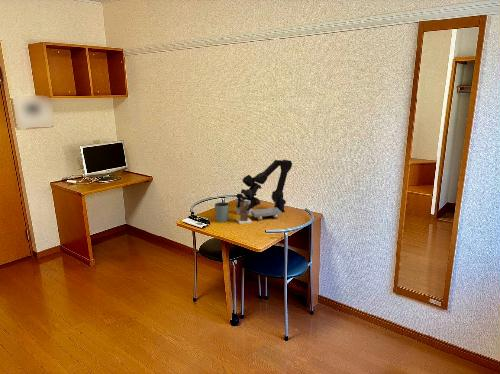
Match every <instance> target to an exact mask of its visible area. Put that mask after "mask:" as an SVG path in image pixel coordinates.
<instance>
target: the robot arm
mask: <svg viewBox="0 0 500 374" xmlns="http://www.w3.org/2000/svg"><path fill="white" fill-rule="evenodd" d="M292 166H293V163H292V160H289V159H285V158H284V159H282V160H280V159H275V160H274V161H273V162H272V163H271V164H270V165H269V166H267V168H266V169H264V170H263V171H262V172H259V173H257V175H255V176H253V177H252V176H251V175H250V174H248V175H246V176H244V177H243V178H242V183H243V184H244V185H245V186H246V187H249V188H247V189H243V188H241V191H240V192H239V193H236V195H235V197H236V198H237V199H238V206H237V208H239V207H240V202H242V201H244V200H249V201H250V205H249V207H248V209H247V211H249V210H250V209H252V210H253V208H254V207H256V206H259V205H260V204H261V200H260V199H259V198H258V197H256V196H257V192H258V190H261V189H262V186H261V185H264V184H265V183H266V181H267V180H268V177H269V176H271V174H273V173H274V172H275V170H277V169H278V168H279V167H280V175H279V179H278V181H277V184H276V185H277V186H276V188H275V190H273V191H272V193H271V200H272V202H273V203H274V205H273V206H274V207H273V208H276V207H277V208H278V209H279V210H280V211H282V213H284V212H286V211H285V205H286V203H287V201H286V200H285V199H284V192H283V191H284V188H285V183H286V180H287V176H288V173H289V172H290V171H291V169H292ZM237 208H236V209H237Z"/></svg>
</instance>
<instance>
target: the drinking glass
mask: <svg viewBox="0 0 500 374" xmlns="http://www.w3.org/2000/svg"><path fill="white" fill-rule="evenodd" d="M229 209H230V203H228V202H223V201H218V202H215V203H214V213H215V221H216V222H218V223H227V222H228V221H229Z"/></svg>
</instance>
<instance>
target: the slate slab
mask: <svg viewBox="0 0 500 374" xmlns="http://www.w3.org/2000/svg"><path fill="white" fill-rule="evenodd" d="M282 213H283V212H282V211H280V210H279V209H278V208H277V207H276V208H274V207H268V208H260V209H258V208H257V209H252V210H251V214H250V215H252V216H253V217H254V218H256V219H257V220H258V221H259V222H262V221H263V217H268V216H272V217H273V218H274V219H275V220H278V219H279V215H282Z"/></svg>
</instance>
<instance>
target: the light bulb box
mask: <svg viewBox="0 0 500 374" xmlns="http://www.w3.org/2000/svg"><path fill="white" fill-rule="evenodd" d="M244 201H246V202H247V209H248V207H249V205H250V201H249V200H244ZM235 202H236V215H240V207H239V208H237V206H238V198H237V199H236V201H235ZM251 210H253V208H252V209H250V210H249V211H248V215H249V216H251V215H252V214H251Z"/></svg>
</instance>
